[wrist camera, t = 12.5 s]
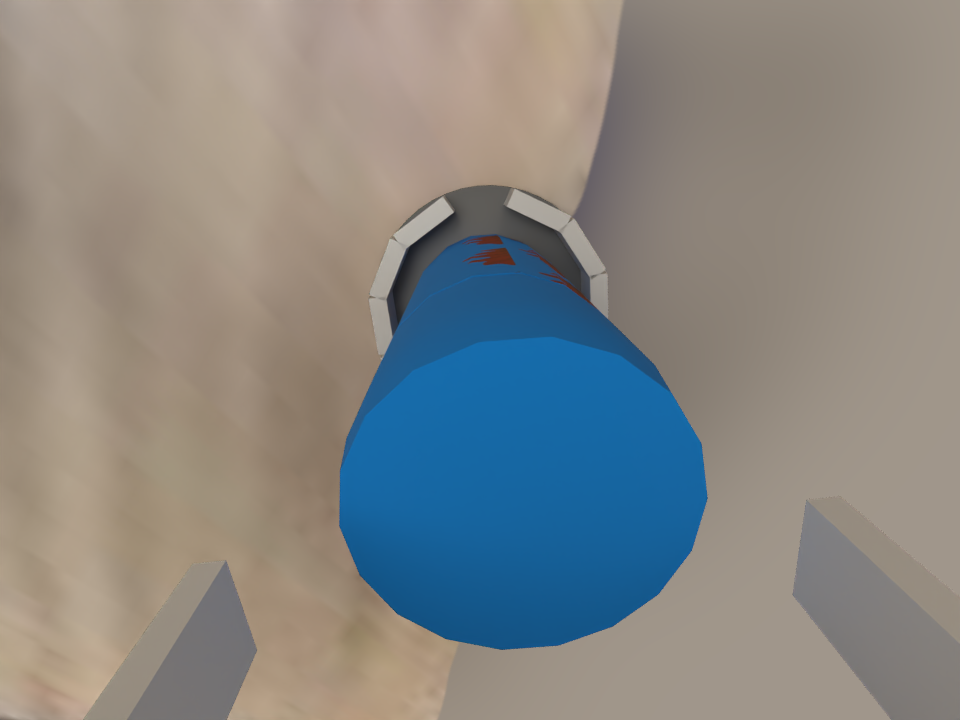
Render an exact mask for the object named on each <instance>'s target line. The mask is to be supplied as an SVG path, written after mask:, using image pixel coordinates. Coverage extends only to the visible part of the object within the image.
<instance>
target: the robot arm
mask: <svg viewBox="0 0 960 720" xmlns="http://www.w3.org/2000/svg"><path fill="white" fill-rule="evenodd" d="M793 596H794V597H795V598H796V600H797V601H798V602H799V603H800V605H801V606H802V607H803V609H804V610H805V611H806V612H807V613H808V615H809V616H810V618H811V619H812V620H813V621H814V622H815V624H816V625H817V626H818V628H819V629H820V630H821V631H822V633H823V634H824V635H825V637H826V638H827V639H828V640H829V642H830V643H831V644H832V645H833V647H834V648H835V649H836V650H837V652H838V653H839V654H840V656H841V657H842V658H843V659H844V661H845V662H846V663H847V664H848V666H849V667H850V668H851V669H852V671H853V672H854V673H855V675H856V676H857V677H858V678H859V680H860V681H861V682H862V683H863V685H864V686H865V687H866V688H867V690H868V691H869V692H870V694H871V695H872V696H873V697H874V699H875V700H876V701H877V702H878V704H879V705H880V706H881V707H882V709H883V710H884V711H885V712H886V714H887V715H888V716H889V717H890V719H891V720H960V597H959V596H958V595H957V594H956V593H955V592H953V591H952V590H951V589H950V588H948V587H947V586H946V585H945V584H944V583H943V582H942V581H940V580H939V579H938V578H937V577H936V576H934V575H933V574H932V573H931V572H930V571H928V570H927V569H926V568H925V567H924V566H923V565H921V564H920V563H919V562H918V561H917V560H916V559H914V558H913V557H912V556H911V555H910V554H908V553H907V552H906V551H905V550H904V549H902V548H901V547H900V546H899V545H898V544H897V543H895V542H894V541H893V540H892V539H890V538H889V537H888V536H887V535H886V534H885V533H884V532H882V531H881V530H880V529H879V528H878V527H876V526H875V525H874V524H873V523H871V522H870V521H869V520H868V519H867V518H866V517H865V516H863V515H862V514H861V513H860V512H859V511H857V510H856V509H855V508H854V507H853V506H851V505H850V504H849V503H848V502H847V501H846V500H844V499H843V498H842V497H841V496H838V497H829V498H819V499H809V500H806V506H805V513H804V520H803V527H802V533H801V540H800V547H799V554H798V561H797V568H796V575H795V582H794V589H793ZM256 651H257V649H256V646H255V643H254V640H253V637H252V634H251V631H250V628H249V625H248V622H247V620H246V617H245V614H244V611H243V608H242V605H241V602H240V599H239V596H238V593H237V591H236V588H235V585H234V582H233V579H232V576H231V573H230V570H229V567H228V564H227V562H226V560H225V561H215V562H205V563H196V564H192V565H191V567H190V568H189V569H188V571H187V572H186V574H185V575H184V577H183V578H182V579H181V581H180V582H179V584H178V585H177V587H176V588H175V589H174V591H173V592H172V594H171V595H170V597H169V598H168V599H167V601H166V602H165V604H164V605H163V606H162V608H161V609H160V611H159V612H158V614H157V615H156V616H155V618H154V619H153V621H152V622H151V624H150V625H149V626H148V628H147V629H146V631H145V632H144V633H143V635H142V636H141V638H140V639H139V641H138V642H137V643H136V645H135V646H134V648H133V649H132V651H131V652H130V653H129V655H128V656H127V658H126V659H125V661H124V662H123V663H122V665H121V666H120V668H119V669H118V670H117V672H116V673H115V675H114V676H113V678H112V679H111V680H110V682H109V683H108V685H107V686H106V688H105V689H104V690H103V692H102V693H101V695H100V696H99V698H98V699H97V700H96V702H95V703H94V705H93V706H92V707H91V709H90V710H89V712H88V713H87V715H86V716H85V717H84V719H83V720H227V718H228V715H229V713H230V711H231V709H232V706H233V704H234V702H235V699H236V697H237V695H238V693H239V690H240V688H241V686H242V683H243V681H244V679H245V677H246V674H247V672H248V670H249V667H250V665H251V663H252V661H253V658H254V656H255V654H256Z"/></svg>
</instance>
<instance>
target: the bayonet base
mask: <svg viewBox="0 0 960 720" xmlns="http://www.w3.org/2000/svg"><path fill="white" fill-rule="evenodd" d="M491 234H497V235H500V236H503V237H507V238H510V239H514V240H517V241H520V242H522V243H524V244H526V245H528V246H529V247H530V248H532V249H533V250H534V251H536V252H537V253H538V254H540V255H541V256H542V257H544V258H545V259H546V260H548V261H549V262H550V263H551V264H552V265H553V266H554V267H555V268H556V269H557V270H558V271H559V272H560V273H561V274H562V275H563V276H564V277H565V278H566V279H568V280H569V281H570V282H571V283H572V284H573V285H574V286H575V287H576V288H577V289H578V290H579V291H580V292H581V293H582V294H583V295H584V296H585V297H586V298H587V299H588V300H589V301H590V302H591V303H592V304H593V305H594V306H595V307H596V308H597V309H598V310H599V311H600V312H601V313H602V314H603V315H604V316H605V317H606V318H607V319H608V277H607V276H608V274H607V273H606V272H605V270H606V268H605V267H604V265H603V263H602V262H601V260H600V259H599V258H598V255H597V254H596V252H595V251H594V249H593V247H592V246H591V244H590V243H589V241H588V240H587V238H586V236H585V235H584V233H583V232H582V230H581V229H580V227H579V225H578V224H577V222H576V221H575V219H574V218H571V216H570V215H568V214H566V213H564V212H562V211H560V210H559V209H558V208H557V207H555V206H554V205H553V204H551V203H549V202H548V201H546V200H544V199H542V198H541V197H539V196H536V195H534V194H531V193H529V192H526V191H523V190H519V189H515V188H511V187H504V186H495V185H486V186H473V187H468V188H462V189H459V190H456V191H453V192H449V193H446V194H444V195H442V196H440V197H438V198H436V199H434V200H432V201H431V202H429V203H428V204H426V205H425V206H423V207H422V208H420V209H419V210H418V211H416V212H415V213H414V214H413V215H412V216H411V217H410V218H409V219H407V220H406V222H405V223H404V224H403V225H402V226H401V228H400V229H399V230H398V231H397V232H396V233H395V234H393V237H392V238H390V240H389V243H388V246H387V248H386V251H385V254H384V256H383V258H382V261H381V264H380V267H379V269H378V272H377V274H376V277H375V280H374V282H373V285H372V288H371V290H370V293H369V295H371V296H370V297H369V305H370V310H371V316H372V321H373V327H374V332H375V338H376V343H377V349H378V354H379V355H382V356H381V358H380V359H381V360H382V359H383V357H384V355H385V353H386V351H387V348H388V346H389V344H390V342H391V340H392V338H393V335H394V333H395V331H396V329H397V327H398V325H399V323H400V320H401V318H402V316H403V314H404V312H405V310H406V308H407V305H408V303H409V301H410V299H411V297H412V295H413V292H414V290H415V288H416V286H417V284H418V282H419V280H420V277H421V275H422V273H423V271H424V270H425V269H426V268H427V267H428V266H429V265H430V264H431V263H432V262H433V261H434V260H435V259H436V258H437V257H438V256H439V255H440V254H441V253H442V252H443V251H444V250H445V249H446V248H447V247H448V246H450V245H452V244H454V243H456V242H459V241H461V240H463V239H465V238H467V237H469V236H478V235H491Z"/></svg>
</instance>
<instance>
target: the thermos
mask: <svg viewBox="0 0 960 720" xmlns="http://www.w3.org/2000/svg"><path fill="white" fill-rule="evenodd" d="M706 502H707V490H706V481H705V472H704V462H703V454H702V445H701V442H700V440H699V439H698V437H697V435H696V434H695V432H694V430H693V429H692V427H691V425H690V424H689V422H688V420H687V418H686V417H685V415H684V414H683V412H682V410H681V408H680V407H679V405H678V403H677V401H676V400H675V398H674V396H673V395H672V393H671V392H670V390H669V388H668V386H667V385H666V383H665V382H664V380H663V378H662V376H661V375H660V373H659V371H658V370H657V368H656V366H655V365H654V364H653V363H652V362H651V361H650V360H649V359H648V358H647V357H646V356H645V355H644V354H643V353H642V352H641V351H640V350H639V349H638V348H637V347H636V346H635V345H634V344H633V343H632V342H631V341H630V340H629V339H628V338H627V337H626V336H625V335H624V334H623V333H622V332H621V331H620V330H618V328H616V326H614V325H613V324H612V323H611V322H610V321H609V320H608V319H607V318H606V317H605V316H604V315H603V314H602V313H601V312H600V311H599V310H598V309H597V308H596V307H595V306H594V305H593V304H592V303H591V302H590V301H589V300H588V299H587V298H586V297H585V296H584V295H583V294H582V293H581V292H580V291H579V290H578V289H577V288H576V287H575V286H574V285H573V284H572V283H571V282H570V281H569V280H568V279H566V278H565V277H564V276H563V275H562V274H561V273H560V272H559V271H558V270H557V269H556V268H555V267H554V266H553V265H552V264H551V263H550V262H549V261H548V260H546V259H545V258H544V257H542V256H541V255H540V254H538V253H537V252H536V251H534V250H533V249H532V248H530V247H529V246H528V245H526V244H524V243H522V242H520V241H517V240H514V239H510V238H507V237H503V236H500V235H497V234H491V235H478V236H469V237H467V238H465V239H463V240H461V241H459V242H456V243H454V244H452V245H450V246H448V247H447V248H446V249H445V250H444V251H443V252H442V253H441V254H440V255H439V256H438V257H437V258H436V259H435V260H434V261H433V262H432V263H431V264H430V265H429V266H428V267H427V268H426V269H425V270H424V271H423V273H422V275H421V277H420V280H419V282H418V284H417V286H416V288H415V290H414V292H413V295H412V297H411V299H410V301H409V303H408V305H407V308H406V310H405V312H404V314H403V316H402V318H401V320H400V323H399V325H398V327H397V329H396V331H395V333H394V335H393V338H392V340H391V342H390V344H389V346H388V348H387V351H386V353H385V355H384V357H383V359H382V361H381V363H380V366H379V368H378V370H377V372H376V374H375V376H374V378H373V381H372V383H371V385H370V387H369V389H368V392H367V394H366V396H365V398H364V400H363V403H362V405H361V407H360V409H359V412H358V414H357V416H356V418H355V421H354V423H353V425H352V427H351V429H350V432H349V434H348V436H347V439H346V444H345V449H344V454H343V459H342V464H341V469H340V522H339V526H340V529H341V531H342V534H343V536H344V538H345V541H346V543H347V545H348V548H349V550H350V553H351V555H352V557H353V560H354V562H355V565H356V567H357V569H358V572H359V574H360V576H361V577H362V578H363V579H364V580H365V581H366V582H367V583H368V584H369V585H370V586H371V587H372V588H373V589H374V590H375V591H376V592H377V593H378V594H379V596H380V597H381V598H382V599H383V600H384V601H385V602H386V603H387V604H388V605H389V606H390V607H391V608H392V609H393V610H394V611H395V612H396V613H397V614H398V615H400V616H402V617H404V618H406V619H408V620H410V621H412V622H414V623H416V624H418V625H420V626H422V627H424V628H426V629H428V630H429V631H431V632H433V633H435V634H437V635H439V636H441V637H443V638H445V639H448V640H453V641H458V642H464V643H470V644H474V645H479V646H485V647H490V648H495V649H500V650H505V649H518V648H531V647H545V646H558V645H561V644H564V643H567V642H570V641H573V640H576V639H578V638H581V637H584V636H587V635H590V634H593V633H595V632H598V631H601V630H604V629H607V628H610V627H613V626H614V625H615V624H617V623H618V622H620V621H621V620H622V619H624V618H625V617H627V616H628V615H630V614H631V613H633V612H634V611H635V610H637V609H638V608H640V607H641V606H643V605H644V604H645V603H647V602H648V601H650V600H651V599H652V598H654V597H655V596H657V595H658V594H659V593H660V591H661V590H662V589H663V588H664V586H665V585H666V583H667V582H668V581H669V580H670V578H671V577H672V576H673V575H674V573H675V572H676V570H677V569H678V568H679V567H680V565H681V564H682V563H683V561H684V560H685V559H686V557H687V556H688V555H689V554H690V552H691V551H692V548H693V545H694V542H695V538H696V535H697V531H698V528H699V525H700V521H701V518H702V515H703V512H704V509H705V505H706Z"/></svg>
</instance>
